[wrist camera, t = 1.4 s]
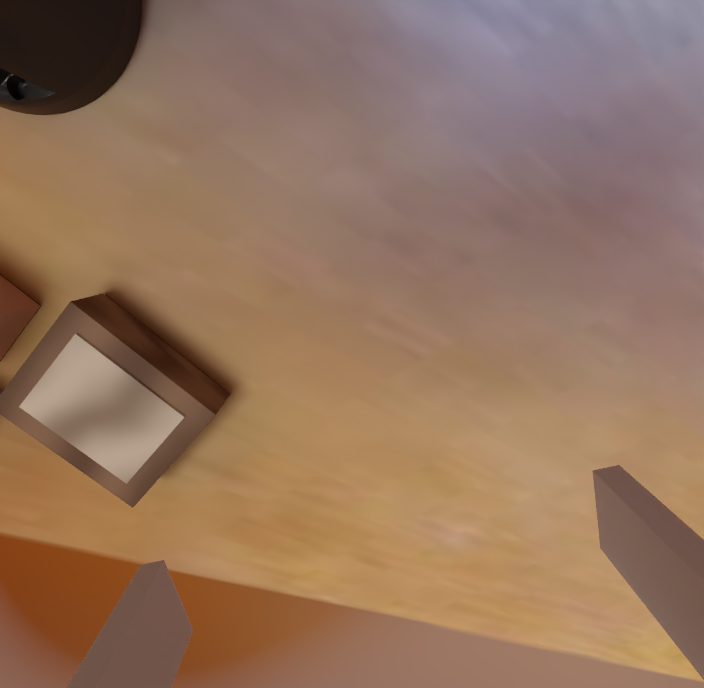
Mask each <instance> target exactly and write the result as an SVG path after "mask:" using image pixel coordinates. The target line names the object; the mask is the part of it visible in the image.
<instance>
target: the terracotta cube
mask: <svg viewBox="0 0 704 688" xmlns="http://www.w3.org/2000/svg"><path fill="white" fill-rule="evenodd" d="M39 307H40V305H38V304H37V303H36V302H34V301H33V300H32V299H31V298H29V297H28V296H27V295H25V294H24V293H23V292H21V291H20V290H19V289H18V288H16V287H15V286H14V285H12V284H11V283H10V282H8V281H7V280H6V279H5V278H3V277H2V276H1V275H0V360H1V359H2V357H3V356H4V355H5V353H6V352H7V351H8V349H9V348H10V347H11V345H12V344H13V343H14V341H15V340H16V338H17V337H18V336H19V334H20V333H21V332H22V330H23V329H24V328H25V326H26V325H27V324H28V322H29V321H30V320H31V318H32V317H33V315H34V314H35V313H36V311H37V310H38V309H39Z"/></svg>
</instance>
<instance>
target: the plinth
mask: <svg viewBox="0 0 704 688" xmlns="http://www.w3.org/2000/svg"><path fill="white" fill-rule="evenodd" d="M229 395H230V394H229V393H228V392H226V391H225V390H224V389H223V388H221V387H220V386H219V385H218V384H216V383H215V382H214V381H213V380H211V379H210V378H209V377H208V376H206V375H205V374H204V373H203V372H201V371H200V370H199V369H197V368H196V367H195V366H194V365H192V364H191V363H190V362H189V361H187V360H186V359H185V358H184V357H182V356H181V355H180V354H179V353H177V352H176V351H175V350H174V349H172V348H171V347H170V346H169V345H167V344H166V343H165V342H164V341H162V340H161V339H160V338H158V337H157V336H156V335H155V334H153V333H152V332H151V331H150V330H148V329H147V328H146V327H145V326H143V325H142V324H141V323H140V322H138V321H137V320H136V319H135V318H133V317H132V316H131V315H130V314H128V313H127V312H126V311H125V310H123V309H122V308H121V307H120V306H118V305H117V304H116V303H114V302H113V301H112V300H111V299H109V298H108V297H107V296H106V295H104V294H99V295H95V296H91V297H87V298H83V299H79V300H75V301H71V302H70V303H69V304H68V306H67V307H66V308H65V310H64V311H63V312H62V314H61V315H60V316H59V318H58V319H57V320H56V321H55V323H54V324H53V325H52V327H51V328H50V329H49V331H48V332H47V333H46V335H45V336H44V337H43V339H42V340H41V341H40V343H39V344H38V345H37V347H36V348H35V349H34V351H33V352H32V353H31V355H30V356H29V357H28V359H27V360H26V361H25V363H24V364H23V365H22V367H21V368H20V369H19V371H18V372H17V373H16V375H15V376H14V377H13V379H12V380H11V381H10V383H9V384H8V385H7V387H6V388H5V389H4V391H3V392H2V393H1V394H0V414H1V415H2V416H4V417H5V418H7V419H8V420H9V421H11V422H12V423H14V424H15V425H17V426H18V427H19V428H21V429H22V430H24V431H25V432H26V433H28V434H29V435H31V436H32V437H34V438H35V439H36V440H38V441H39V442H41V443H42V444H43V445H45V446H46V447H48V448H49V449H50V450H52V451H53V452H55V453H56V454H58V455H59V456H60V457H62V458H63V459H65V460H66V461H67V462H69V463H70V464H72V465H73V466H75V467H76V468H77V469H79V470H80V471H82V472H83V473H84V474H86V475H87V476H89V477H90V478H92V479H93V480H94V481H96V482H97V483H99V484H100V485H101V486H103V487H104V488H106V489H107V490H109V491H110V492H111V493H113V494H114V495H116V496H117V497H118V498H120V499H121V500H123V501H124V502H126V503H127V504H128V505H130V506H131V507H134V506H135V505H136V504H137V503H138V501H139V500H140V499H141V498H142V497H143V496H144V495H145V494H146V492H147V491H148V490H149V489H150V488H151V487H152V486H153V484H154V483H155V482H156V481H157V480H158V479H159V478H160V477H161V475H162V474H163V473H164V472H165V471H166V470H167V469H168V468H169V466H170V465H171V464H172V463H173V462H174V461H175V460H176V459H177V457H178V456H179V455H180V454H181V453H182V452H183V451H184V450H185V448H186V447H187V446H188V445H189V444H190V443H191V442H192V441H193V439H194V438H195V437H196V436H197V435H198V434H199V433H200V432H201V430H202V429H203V428H204V427H205V426H206V425H207V424H208V422H209V421H210V420H211V419H212V418H213V417H214V416H215V415H216V413H217V412H218V410H219V409H220V408H221V406H222V405H223V404H224V402H225V401H226V399H227V398H228V397H229Z"/></svg>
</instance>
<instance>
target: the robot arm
mask: <svg viewBox="0 0 704 688" xmlns="http://www.w3.org/2000/svg"><path fill="white" fill-rule="evenodd" d="M141 6H142V0H0V107H3V108H6V109H9V110H12V111H16V112H21V113H26V114H35V115H50V114H58V113H63V112H68V111H71V110H74V109H77V108H79V107H82V106H84V105H86V104H88V103H89V102H91V101H93V100H94V99H96V98H97V97H99V96H100V95H101V94H102V93H104V92H105V91H106V90H107V89H108V88H109V87H110V86H111V85H112V84H113V83H114V82H115V80H116V79H117V78H118V76H119V75H120V74H121V72H122V71H123V69H124V68H125V66H126V64H127V62H128V60H129V58H130V56H131V54H132V51H133V48H134V46H135V43H136V39H137V35H138V31H139V26H140V19H141ZM593 478H594V488H595V498H596V508H597V519H598V529H599V539H600V548H601V549H602V551H603V552H604V553H605V554H606V556H607V557H608V558H609V560H610V561H611V562H612V563H613V565H614V566H615V567H616V568H617V570H618V571H619V572H620V574H621V575H622V576H623V577H624V579H625V580H626V581H627V582H628V584H629V585H630V586H631V588H632V589H633V590H634V591H635V593H636V594H637V595H638V597H639V598H640V599H641V600H642V602H643V603H644V604H645V605H646V607H647V608H648V609H649V611H650V612H651V613H652V614H653V616H654V617H655V618H656V619H657V621H658V622H659V623H660V625H661V626H662V627H663V628H664V630H665V631H666V632H667V634H668V635H669V636H670V637H671V639H672V640H673V641H674V642H675V644H676V645H677V646H678V648H679V649H680V650H681V651H682V653H683V654H684V655H685V656H686V658H687V659H688V660H689V662H690V663H691V664H692V665H693V667H694V668H695V669H696V671H697V672H698V673H699V674H700V676H701V677H702V678H703V679H704V540H703V539H702V538H701V537H700V536H699V535H697V534H696V533H695V532H694V531H693V530H692V529H691V528H689V527H688V526H687V525H686V524H685V523H684V522H683V521H682V520H680V519H679V518H678V517H677V516H676V515H675V514H674V513H673V512H671V511H670V510H669V509H668V508H667V507H666V506H665V505H664V504H662V503H661V502H660V501H659V500H658V499H657V498H656V497H655V496H653V495H652V494H651V493H650V492H649V491H648V490H647V489H645V488H644V487H643V486H642V485H641V484H640V483H639V482H638V481H636V480H635V479H634V478H633V477H632V476H631V475H630V474H629V473H627V472H626V471H625V470H624V469H623V468H622V467H621V466H620V465H617V466H613V467H608V468H603V469H598V470H593ZM192 631H193V629H192V626H191V624H190V621H189V619H188V617H187V614H186V612H185V609H184V607H183V605H182V602H181V600H180V597H179V595H178V593H177V590H176V588H175V586H174V583H173V581H172V578H171V576H170V573H169V571H168V569H167V566H166V564H165V561H164V560H163V561H158V562H153V563H148V564H144V565H140V566H139V568H138V570H137V571H136V573H135V575H134V576H133V578H132V580H131V582H130V583H129V585H128V586H127V588H126V590H125V591H124V593H123V595H122V596H121V598H120V600H119V602H118V603H117V605H116V606H115V608H114V610H113V611H112V613H111V615H110V616H109V618H108V620H107V621H106V623H105V625H104V626H103V628H102V630H101V631H100V633H99V635H98V637H97V638H96V640H95V641H94V643H93V645H92V646H91V648H90V650H89V651H88V653H87V655H86V656H85V658H84V660H83V661H82V663H81V665H80V666H79V668H78V670H77V671H76V673H75V675H74V676H73V678H72V680H71V681H70V683H69V685H68V687H67V688H171V687H172V684H173V681H174V679H175V676H176V673H177V671H178V668H179V665H180V663H181V660H182V657H183V654H184V652H185V649H186V646H187V644H188V641H189V639H190V636H191V633H192Z"/></svg>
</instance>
